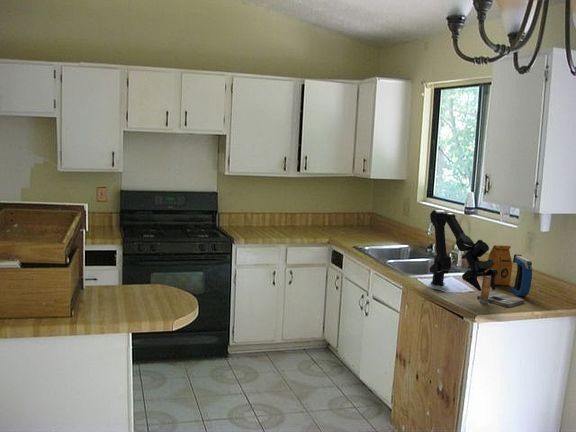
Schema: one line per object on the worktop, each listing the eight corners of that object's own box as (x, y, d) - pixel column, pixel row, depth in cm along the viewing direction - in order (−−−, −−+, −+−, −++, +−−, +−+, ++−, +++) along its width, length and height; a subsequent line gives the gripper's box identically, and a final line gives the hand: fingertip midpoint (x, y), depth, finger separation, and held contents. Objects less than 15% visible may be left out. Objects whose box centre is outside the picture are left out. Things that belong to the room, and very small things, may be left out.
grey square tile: (477, 298, 290) (477, 295, 290) (494, 294, 301) (494, 291, 301) (507, 307, 278) (507, 304, 278) (524, 302, 289) (524, 299, 289)
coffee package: (512, 286, 320) (518, 247, 317) (492, 286, 317) (498, 246, 314) (501, 281, 330) (506, 243, 327) (482, 281, 327) (487, 242, 323)
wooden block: (480, 301, 285) (483, 275, 283) (487, 302, 284) (491, 276, 282) (479, 303, 282) (483, 276, 280) (487, 304, 280) (490, 278, 278)
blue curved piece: (516, 290, 313) (521, 254, 310) (529, 299, 297) (534, 261, 294) (508, 289, 313) (512, 253, 310) (520, 298, 297) (525, 260, 294)
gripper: (469, 253, 278) (483, 282, 270) (498, 253, 287) (512, 281, 279) (455, 266, 286) (469, 294, 278) (484, 264, 295) (497, 292, 287)
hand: (487, 290), depth 280 cm, fingers open, 9 cm apart
